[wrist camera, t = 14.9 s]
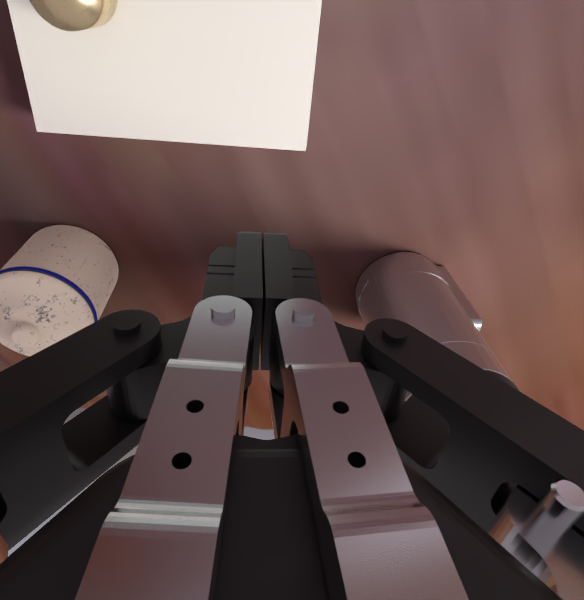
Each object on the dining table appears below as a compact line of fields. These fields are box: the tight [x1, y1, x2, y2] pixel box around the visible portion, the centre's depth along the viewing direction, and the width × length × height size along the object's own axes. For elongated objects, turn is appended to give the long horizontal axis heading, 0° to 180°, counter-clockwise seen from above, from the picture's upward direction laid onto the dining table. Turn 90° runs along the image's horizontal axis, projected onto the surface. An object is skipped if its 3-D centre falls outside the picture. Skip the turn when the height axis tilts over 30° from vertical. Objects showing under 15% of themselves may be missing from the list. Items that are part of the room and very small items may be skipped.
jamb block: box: [7, 0, 322, 151], centre depth 32 cm, size 20×11×4 cm, turn 85°
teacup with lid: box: [0, 225, 119, 356], centre depth 39 cm, size 12×9×12 cm
